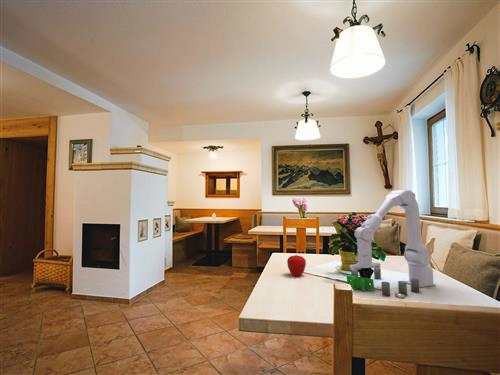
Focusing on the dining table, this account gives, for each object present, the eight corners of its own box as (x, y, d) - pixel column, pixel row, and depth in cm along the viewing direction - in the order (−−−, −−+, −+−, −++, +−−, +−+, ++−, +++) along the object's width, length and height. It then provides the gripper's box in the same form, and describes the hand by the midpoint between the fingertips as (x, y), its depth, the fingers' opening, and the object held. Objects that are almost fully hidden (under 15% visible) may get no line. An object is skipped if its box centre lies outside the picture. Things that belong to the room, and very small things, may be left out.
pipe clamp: (345, 288, 118) (344, 278, 117) (348, 284, 120) (347, 274, 120) (371, 293, 110) (370, 282, 110) (374, 289, 113) (373, 278, 113)
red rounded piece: (307, 277, 134) (307, 256, 134) (288, 278, 134) (288, 256, 134) (304, 272, 143) (303, 252, 144) (286, 272, 144) (286, 252, 144)
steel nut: (398, 295, 108) (398, 292, 108) (406, 298, 105) (406, 294, 105) (393, 297, 106) (393, 293, 106) (401, 299, 103) (401, 296, 103)
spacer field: (378, 277, 133) (378, 267, 134) (423, 293, 109) (422, 280, 110) (348, 280, 129) (348, 269, 129) (388, 298, 105) (388, 285, 105)
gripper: (371, 251, 124) (373, 281, 123) (345, 253, 120) (346, 284, 119) (383, 254, 117) (384, 285, 116) (355, 256, 113) (356, 289, 112)
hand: (366, 285), depth 117 cm, fingers closed
